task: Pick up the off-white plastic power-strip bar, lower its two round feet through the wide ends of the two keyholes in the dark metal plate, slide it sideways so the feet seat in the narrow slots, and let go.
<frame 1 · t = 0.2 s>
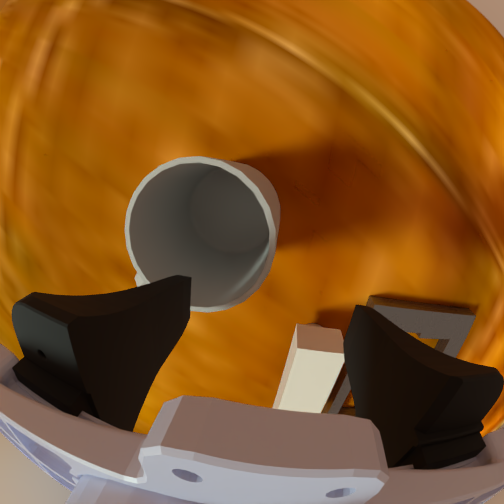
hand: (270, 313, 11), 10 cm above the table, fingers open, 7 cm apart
cup: (219, 220, 21), on the table
keyhole plate: (394, 371, 23), on the table
power strip: (302, 364, 23), on the table
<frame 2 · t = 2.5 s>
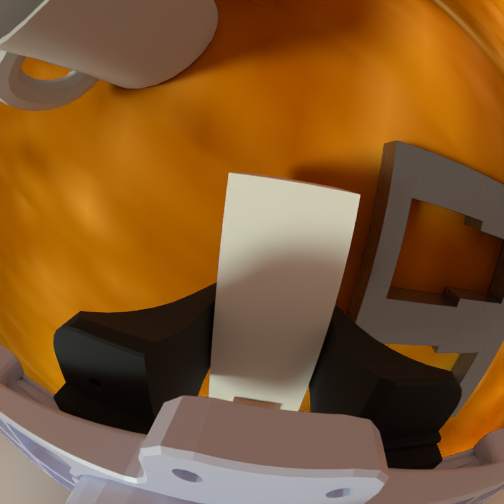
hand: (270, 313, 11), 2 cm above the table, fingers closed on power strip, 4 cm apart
cup: (139, 52, 11), on the table
keyhole plate: (440, 313, 13), on the table
power strip: (273, 291, 13), on the table, touching gripper
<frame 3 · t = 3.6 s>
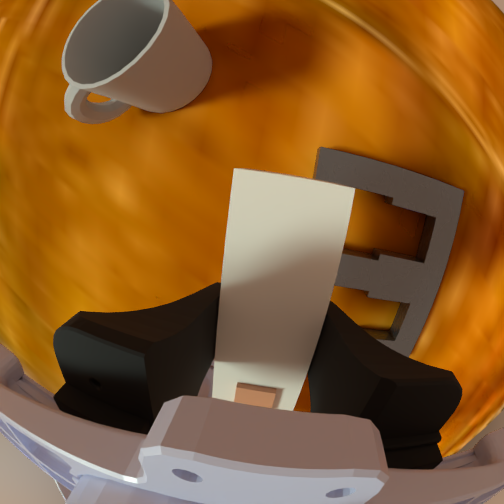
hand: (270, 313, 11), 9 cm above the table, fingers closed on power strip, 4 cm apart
cup: (158, 85, 18), on the table
keyhole plate: (371, 269, 20), on the table
power strip: (273, 282, 14), point 7 cm above the table, touching gripper
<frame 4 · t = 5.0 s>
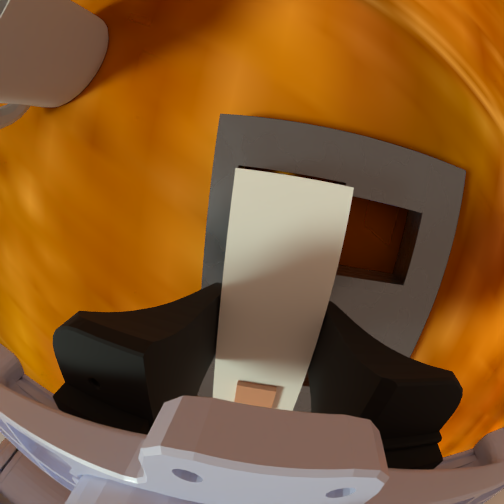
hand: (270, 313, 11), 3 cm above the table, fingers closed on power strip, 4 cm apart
cup: (62, 77, 12), on the table
keyhole plate: (321, 293, 14), on the table
power strip: (274, 282, 14), on the table, touching gripper
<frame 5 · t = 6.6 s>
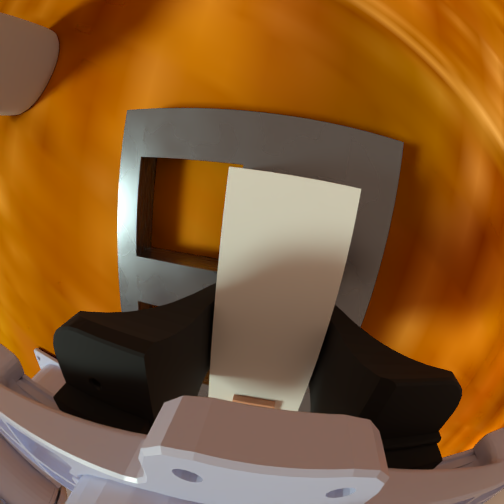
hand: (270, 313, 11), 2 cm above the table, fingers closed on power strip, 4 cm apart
cup: (24, 86, 12), on the table
keyhole plate: (240, 285, 13), on the table
power strip: (273, 288, 13), on the table, touching gripper
when the fingers open (2 cm above the table, at t = 7.4 s): power strip stays where it is, on the table.
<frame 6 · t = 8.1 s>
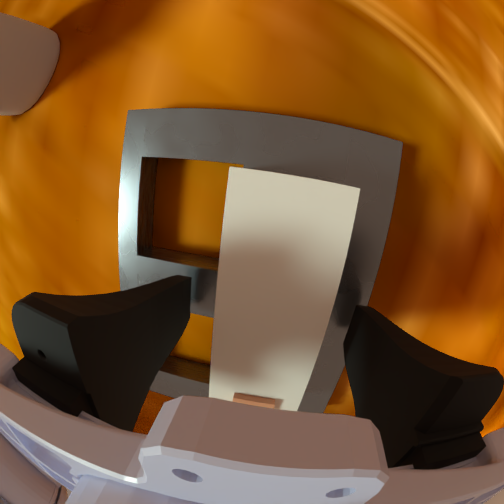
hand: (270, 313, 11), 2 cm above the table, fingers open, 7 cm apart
cup: (25, 86, 12), on the table
keyhole plate: (240, 284, 14), on the table
power strip: (273, 287, 13), on the table
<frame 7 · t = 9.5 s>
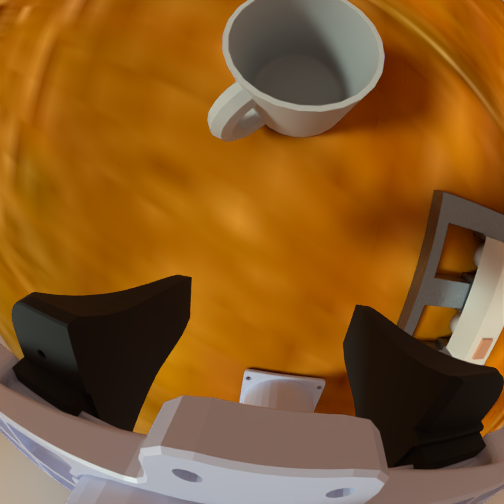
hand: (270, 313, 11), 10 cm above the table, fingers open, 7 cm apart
cup: (283, 104, 18), on the table
keyhole plate: (459, 289, 19), on the table
power strip: (470, 289, 19), on the table
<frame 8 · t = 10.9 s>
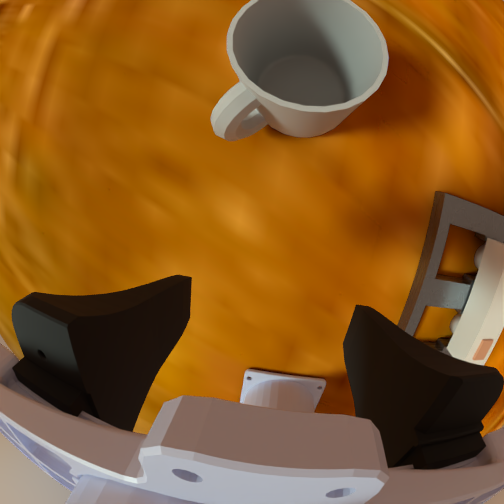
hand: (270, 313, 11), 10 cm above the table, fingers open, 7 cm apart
cup: (286, 104, 18), on the table
keyhole plate: (460, 290, 19), on the table
power strip: (471, 290, 19), on the table
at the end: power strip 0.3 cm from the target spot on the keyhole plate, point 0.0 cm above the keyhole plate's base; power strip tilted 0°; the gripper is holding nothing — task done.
